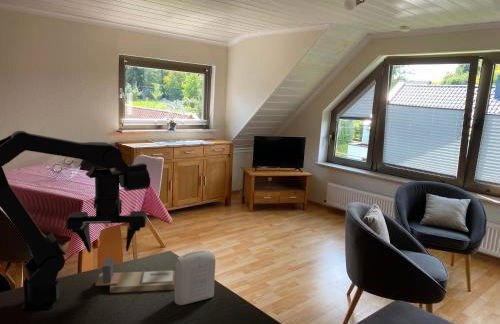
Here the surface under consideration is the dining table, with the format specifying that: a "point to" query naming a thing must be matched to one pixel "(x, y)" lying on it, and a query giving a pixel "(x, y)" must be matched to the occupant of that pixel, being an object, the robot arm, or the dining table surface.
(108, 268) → the stub
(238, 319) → the dining table surface
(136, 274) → the ticket board
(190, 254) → the photo printer
